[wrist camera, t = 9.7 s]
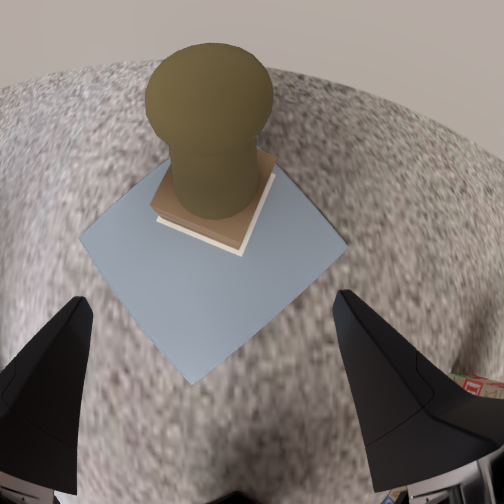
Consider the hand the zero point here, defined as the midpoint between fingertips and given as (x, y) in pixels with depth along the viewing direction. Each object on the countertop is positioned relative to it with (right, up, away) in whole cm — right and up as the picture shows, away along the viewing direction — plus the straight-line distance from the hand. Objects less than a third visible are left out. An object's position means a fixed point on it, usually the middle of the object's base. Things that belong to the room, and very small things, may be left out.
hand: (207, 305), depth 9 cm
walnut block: (-2, +6, +14) cm, 15 cm away
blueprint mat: (-2, +3, +14) cm, 14 cm away
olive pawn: (-1, +7, +10) cm, 12 cm away
